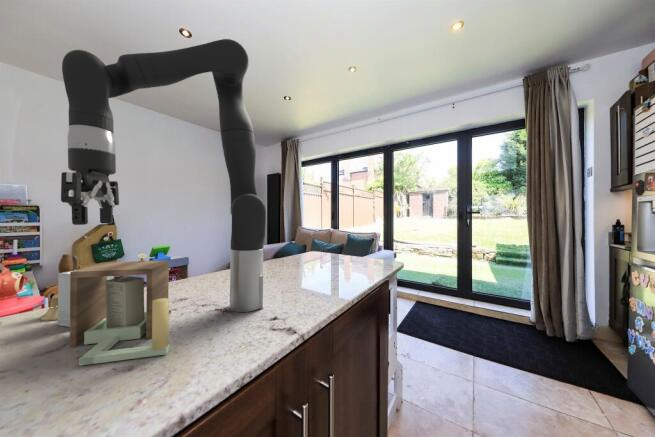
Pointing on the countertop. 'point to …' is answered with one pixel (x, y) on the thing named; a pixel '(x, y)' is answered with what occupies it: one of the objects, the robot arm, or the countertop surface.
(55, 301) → the hand bell
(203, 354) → the countertop surface
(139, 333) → the green zigzag lever
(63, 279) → the supplement box
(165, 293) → the brown hollow box
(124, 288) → the skincare box
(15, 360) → the countertop surface
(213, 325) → the countertop surface
